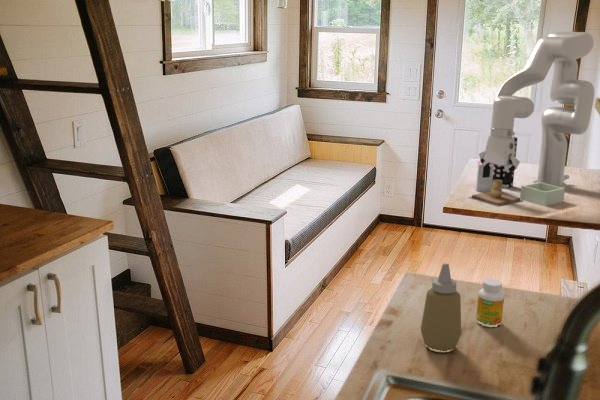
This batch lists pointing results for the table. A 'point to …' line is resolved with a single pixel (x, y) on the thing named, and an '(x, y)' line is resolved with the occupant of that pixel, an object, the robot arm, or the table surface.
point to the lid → (496, 195)
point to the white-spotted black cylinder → (503, 171)
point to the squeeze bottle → (442, 313)
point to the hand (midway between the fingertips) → (496, 180)
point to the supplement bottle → (490, 302)
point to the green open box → (542, 194)
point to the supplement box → (483, 179)
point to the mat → (496, 205)
